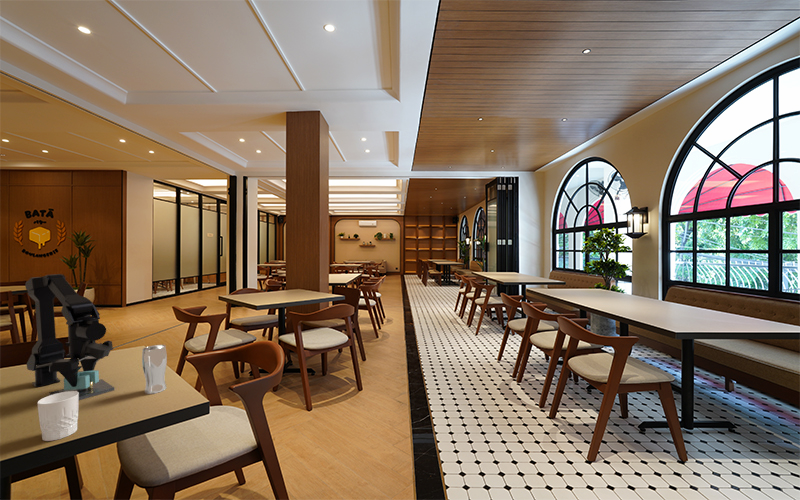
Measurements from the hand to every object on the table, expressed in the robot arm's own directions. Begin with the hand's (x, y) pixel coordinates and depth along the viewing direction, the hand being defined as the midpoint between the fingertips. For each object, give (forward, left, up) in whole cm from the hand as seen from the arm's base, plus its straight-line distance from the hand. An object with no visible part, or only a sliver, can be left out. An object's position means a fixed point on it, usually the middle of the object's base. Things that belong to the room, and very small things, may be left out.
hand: (81, 382), depth 120 cm
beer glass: (+20, +15, -4) cm, 25 cm away
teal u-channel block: (0, 0, -1) cm, 1 cm away
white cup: (+31, -11, -4) cm, 33 cm away
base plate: (0, 0, -4) cm, 4 cm away
